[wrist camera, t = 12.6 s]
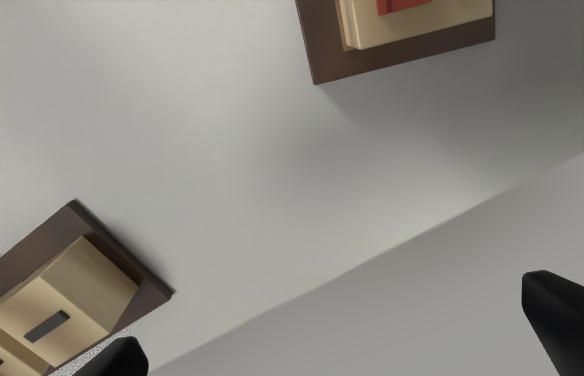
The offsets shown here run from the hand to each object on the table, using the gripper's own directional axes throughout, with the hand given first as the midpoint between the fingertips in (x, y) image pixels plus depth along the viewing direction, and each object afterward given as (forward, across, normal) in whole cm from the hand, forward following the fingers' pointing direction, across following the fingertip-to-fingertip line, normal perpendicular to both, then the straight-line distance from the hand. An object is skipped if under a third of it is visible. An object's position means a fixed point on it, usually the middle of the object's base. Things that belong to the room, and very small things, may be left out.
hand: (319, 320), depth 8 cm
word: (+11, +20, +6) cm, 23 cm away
